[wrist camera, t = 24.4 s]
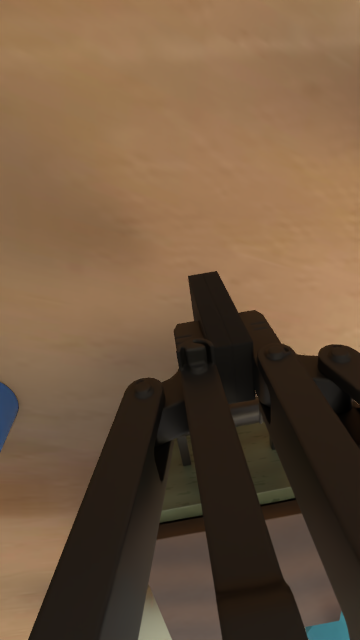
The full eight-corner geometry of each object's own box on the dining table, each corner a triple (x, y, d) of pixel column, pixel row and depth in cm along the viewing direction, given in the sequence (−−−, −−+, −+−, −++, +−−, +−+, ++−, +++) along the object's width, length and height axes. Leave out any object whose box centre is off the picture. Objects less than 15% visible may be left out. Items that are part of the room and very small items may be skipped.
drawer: (125, 383, 24) (119, 468, 18) (302, 351, 24) (354, 425, 18) (172, 536, 34) (178, 623, 28) (296, 513, 34) (329, 595, 28)
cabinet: (134, 429, 28) (131, 544, 20) (302, 398, 28) (363, 502, 20) (169, 540, 36) (176, 650, 28) (298, 516, 36) (339, 620, 29)
